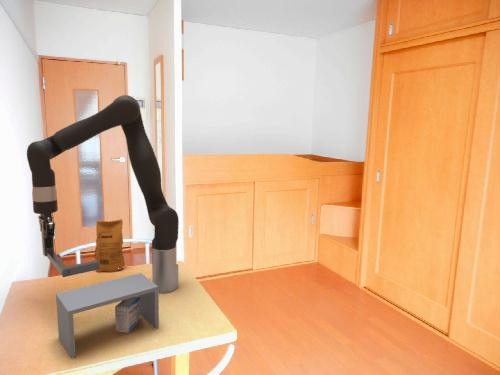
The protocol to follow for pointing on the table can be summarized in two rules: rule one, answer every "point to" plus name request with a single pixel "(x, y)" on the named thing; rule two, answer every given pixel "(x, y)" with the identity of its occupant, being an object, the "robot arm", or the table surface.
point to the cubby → (105, 303)
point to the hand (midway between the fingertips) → (48, 245)
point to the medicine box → (127, 314)
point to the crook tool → (61, 266)
